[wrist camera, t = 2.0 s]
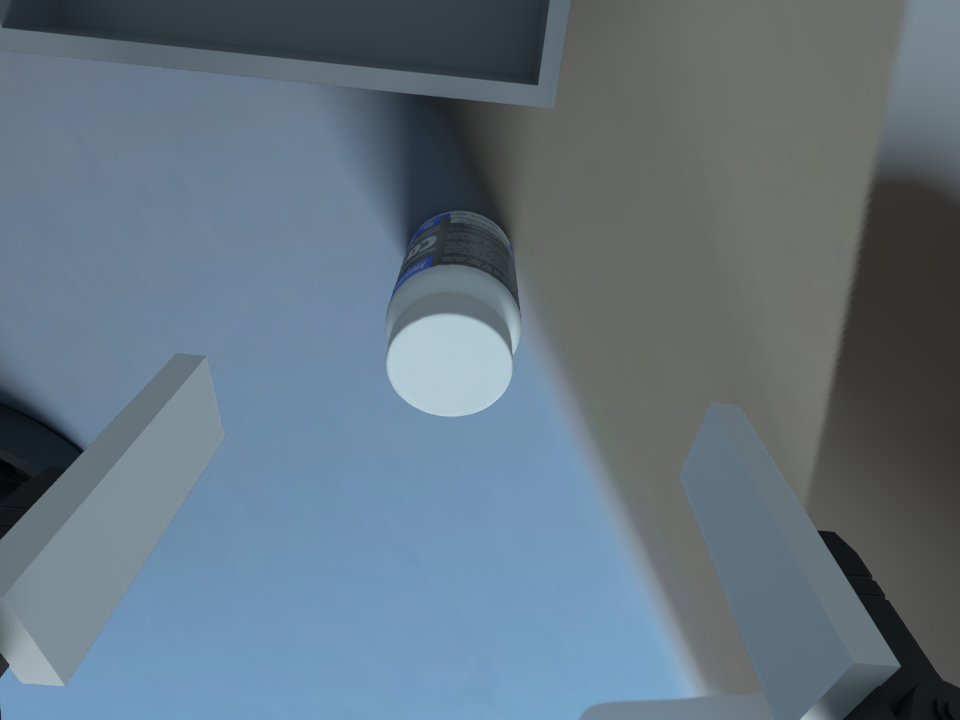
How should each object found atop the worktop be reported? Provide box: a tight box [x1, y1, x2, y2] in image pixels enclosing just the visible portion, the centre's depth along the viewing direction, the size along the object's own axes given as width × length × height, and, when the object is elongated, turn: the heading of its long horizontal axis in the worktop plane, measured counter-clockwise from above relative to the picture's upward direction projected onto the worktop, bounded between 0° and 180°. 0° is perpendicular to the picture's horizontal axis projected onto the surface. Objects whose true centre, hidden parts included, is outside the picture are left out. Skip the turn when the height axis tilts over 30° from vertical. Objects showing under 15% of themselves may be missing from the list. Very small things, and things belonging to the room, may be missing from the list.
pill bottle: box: [386, 211, 521, 416], centre depth 20 cm, size 5×5×8 cm
